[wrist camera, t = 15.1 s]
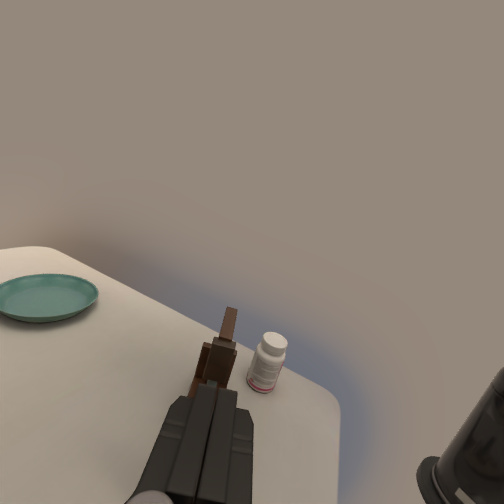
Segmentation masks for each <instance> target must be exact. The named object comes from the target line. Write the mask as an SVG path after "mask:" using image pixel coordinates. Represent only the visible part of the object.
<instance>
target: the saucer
mask: <svg viewBox="0 0 504 504" xmlns="http://www.w3.org/2000/svg"><path fill="white" fill-rule="evenodd" d="M97 297H98V289H97V288H96V286H95V285H94V284H92V283H91V282H89V281H87V280H85V279H82V278H79V277H76V276H71V275H64V274H37V275H29V276H23V277H19V278H15V279H12V280H9V281H6V282H4V283H2V284H0V312H1V313H3V314H5V315H7V316H9V317H12V318H14V319H18V320H21V321H26V322H38V323H40V322H53V321H59V320H63V319H66V318H69V317H72V316H74V315H76V314H78V313H80V312H82V311H83V310H85V309H86V308H88V307H89V306H90V305H91V304H92V303H93V302H94V301H95V300H96V299H97Z"/></svg>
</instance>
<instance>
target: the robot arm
mask: <svg viewBox="0 0 504 504" xmlns="http://www.w3.org/2000/svg"><path fill="white" fill-rule="evenodd" d="M216 392H217V387H214V386H209V385H205V384H200V383H199V384H198V387H197V391H196V394H195V397H194V398H190V397H185V396H180V397H179V398H178V399H177V400H176V401H175V402H174V403H173V404H172V405H171V406H170V408H169V411H168V413H167V415H166V418H165V421H164V423H163V425H162V428H161V430H160V433H159V435H158V437H157V440H156V442H155V445H154V447H153V449H152V452H151V454H150V457H149V459H148V462H147V464H146V466H145V469H144V471H143V474H142V476H141V479H140V481H139V483H138V486H137V488H136V490H135V491H134V493H133V494H132V496H131V497H130V498H129V499H128V500H127V501H126V502H125V503H124V504H252V474H253V430H254V424H253V421H252V419H251V416H250V413H249V411H248V410H244V409H240V408H236V403H237V391H232V390H228V389H223V388H219V389H218V393H217V397H216ZM215 397H216V401H215ZM214 401H215V406H214ZM213 406H214V410H213ZM212 411H213V414H212ZM211 415H212V418H211ZM210 420H211V422H210ZM209 425H210V426H209ZM208 430H209V431H208ZM207 434H208V435H207ZM206 439H207V440H206ZM203 453H204V454H203ZM202 458H203V459H202ZM200 467H201V468H200ZM199 472H200V473H199ZM430 476H431V481H432V484H433V487H434V489H435V491H436V493H437V495H438V497H439V498H440V500H441V501H442V503H443V504H504V367H503V368H502V369H501V370H500V371H499V372H498V373H497V375H496V376H495V377H494V379H493V381H492V382H491V383H490V385H489V387H488V388H487V389H486V391H485V392H484V394H483V396H482V397H481V398H480V400H479V402H478V403H477V404H476V406H475V407H474V409H473V410H472V412H471V413H470V415H469V416H468V418H467V419H466V421H465V422H464V424H463V425H462V427H461V428H460V429H459V431H458V432H457V434H456V436H455V437H454V438H453V440H452V441H451V443H450V444H449V446H448V447H447V449H446V450H445V452H444V453H443V454H442V456H441V457H440V459H439V460H438V462H436V463H435V464H434V466H433V467H432V469H431V473H430ZM198 477H199V478H198ZM196 486H197V487H196ZM195 491H196V492H195ZM194 496H195V497H194ZM193 500H194V501H193Z"/></svg>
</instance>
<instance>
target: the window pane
mask: <svg viewBox="0 0 504 504" xmlns="http://www.w3.org/2000/svg"><path fill="white" fill-rule="evenodd" d="M236 315H237V309H234V308H231V307H227V308H226V312H225V316H224V319H223V323H222V327H221V331H220V334H219V338H218V337H214V338H213V342H212V345H211V349H210V352H209V356H208V360H207V363H206V367H205V370H204V374H203V378H204V379H208V381H207V384H206V385H209V386H214V387H216V385H217V382H219V383H223V384H224V383H225V380H226V377H227V374H228V371H229V367H230V364H231V361H232V358H233V355H234V351H235V347H236V342H233V341H232V338H233V332H234V326H235V321H236Z"/></svg>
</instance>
